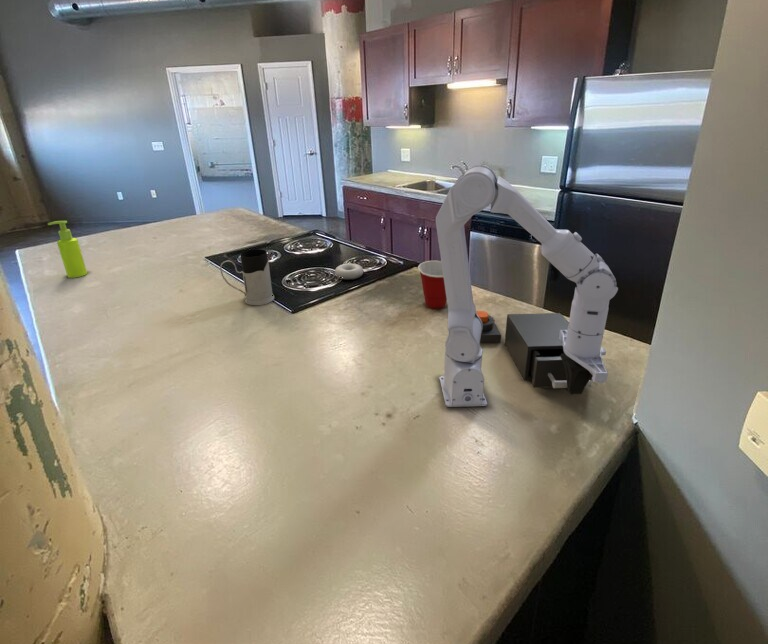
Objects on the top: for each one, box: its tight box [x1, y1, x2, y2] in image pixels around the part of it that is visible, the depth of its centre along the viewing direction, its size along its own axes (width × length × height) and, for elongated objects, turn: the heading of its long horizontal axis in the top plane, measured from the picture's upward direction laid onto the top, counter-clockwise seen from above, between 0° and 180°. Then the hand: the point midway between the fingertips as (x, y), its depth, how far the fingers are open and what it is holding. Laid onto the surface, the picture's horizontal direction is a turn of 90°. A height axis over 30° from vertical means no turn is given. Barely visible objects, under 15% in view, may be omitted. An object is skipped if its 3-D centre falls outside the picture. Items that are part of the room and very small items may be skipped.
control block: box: [480, 314, 502, 344], centre depth 105 cm, size 10×8×4 cm
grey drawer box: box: [504, 312, 569, 381], centre depth 93 cm, size 15×13×8 cm
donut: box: [334, 263, 364, 281], centre depth 145 cm, size 10×4×10 cm
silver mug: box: [219, 248, 276, 306], centre depth 125 cm, size 9×14×15 cm, turn 112°
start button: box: [476, 310, 489, 323], centre depth 105 cm, size 4×4×2 cm
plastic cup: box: [417, 260, 447, 310], centre depth 120 cm, size 11×11×12 cm
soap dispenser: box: [47, 220, 88, 279], centre depth 148 cm, size 6×7×20 cm
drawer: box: [529, 349, 593, 389], centre depth 87 cm, size 18×11×6 cm, turn 1°
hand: (574, 392), depth 78 cm, fingers closed
